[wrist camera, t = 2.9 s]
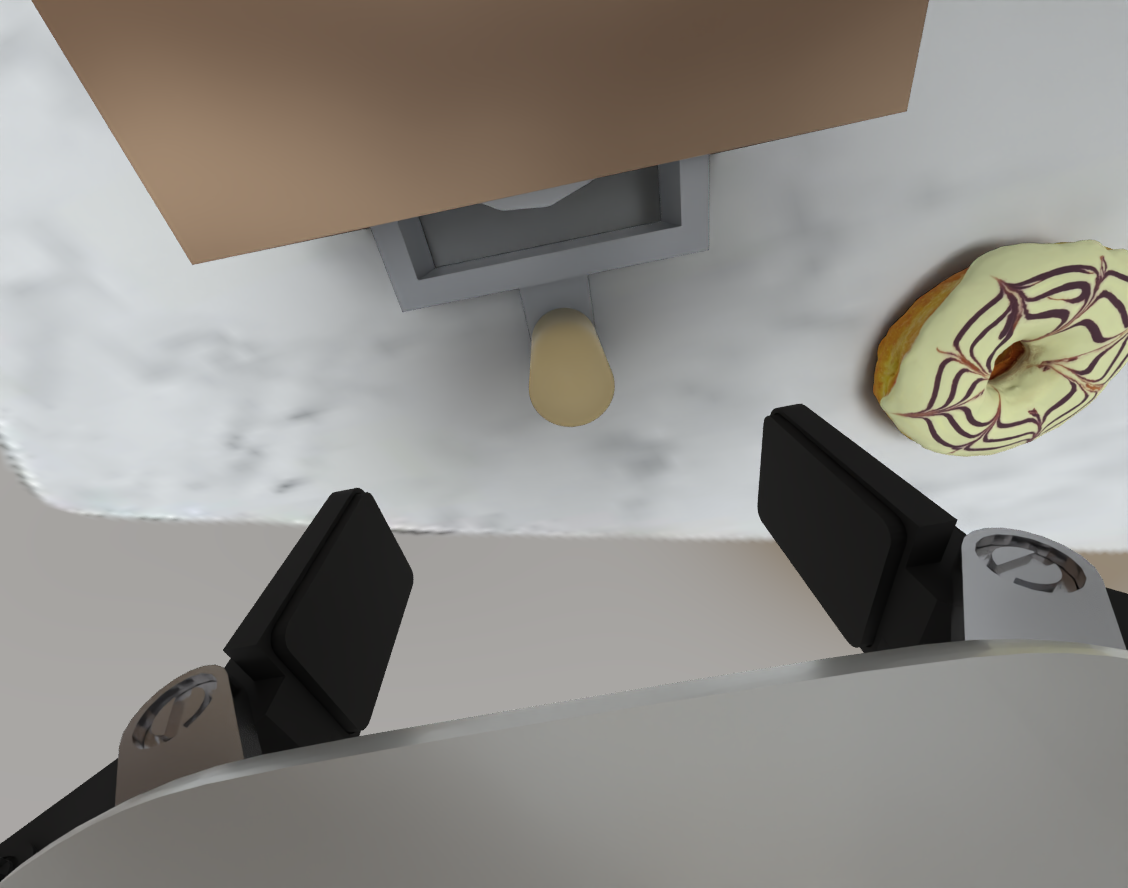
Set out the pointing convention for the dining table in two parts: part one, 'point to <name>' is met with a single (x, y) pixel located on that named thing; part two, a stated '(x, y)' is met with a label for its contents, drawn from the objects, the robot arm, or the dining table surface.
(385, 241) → the slider
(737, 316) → the dining table surface
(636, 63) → the tunnel
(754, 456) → the dining table surface
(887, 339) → the decorated donut
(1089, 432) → the dining table surface
